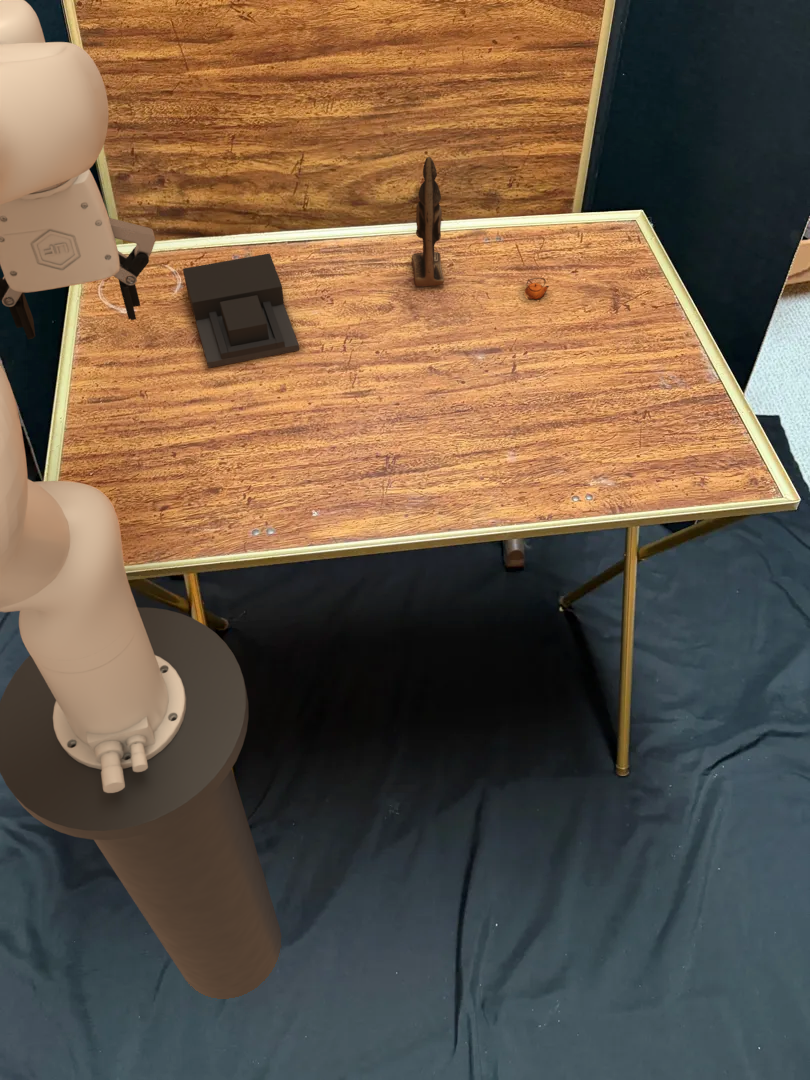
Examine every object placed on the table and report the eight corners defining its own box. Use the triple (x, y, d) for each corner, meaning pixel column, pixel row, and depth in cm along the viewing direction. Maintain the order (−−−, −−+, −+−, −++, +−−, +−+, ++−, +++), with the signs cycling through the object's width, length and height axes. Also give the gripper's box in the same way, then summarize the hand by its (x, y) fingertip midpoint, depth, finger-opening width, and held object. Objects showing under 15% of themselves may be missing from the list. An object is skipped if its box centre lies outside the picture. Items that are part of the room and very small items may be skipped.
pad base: (299, 350, 127) (297, 326, 124) (208, 368, 125) (203, 344, 122) (272, 277, 137) (269, 253, 133) (187, 292, 134) (182, 268, 131)
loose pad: (269, 341, 127) (267, 323, 124) (231, 348, 126) (228, 330, 124) (259, 312, 130) (257, 294, 128) (222, 319, 129) (219, 301, 127)
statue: (439, 260, 139) (446, 128, 124) (445, 291, 135) (452, 159, 119) (410, 261, 139) (413, 129, 123) (415, 292, 135) (418, 160, 119)
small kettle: (529, 285, 136) (532, 269, 134) (549, 292, 135) (551, 276, 133) (520, 296, 135) (522, 280, 133) (539, 303, 134) (542, 288, 132)
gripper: (-78, 200, 78) (-9, 362, 91) (140, 167, 81) (176, 328, 94) (-79, 151, 82) (-13, 313, 96) (128, 121, 85) (164, 281, 99)
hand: (81, 320), depth 95 cm, fingers open, 9 cm apart
